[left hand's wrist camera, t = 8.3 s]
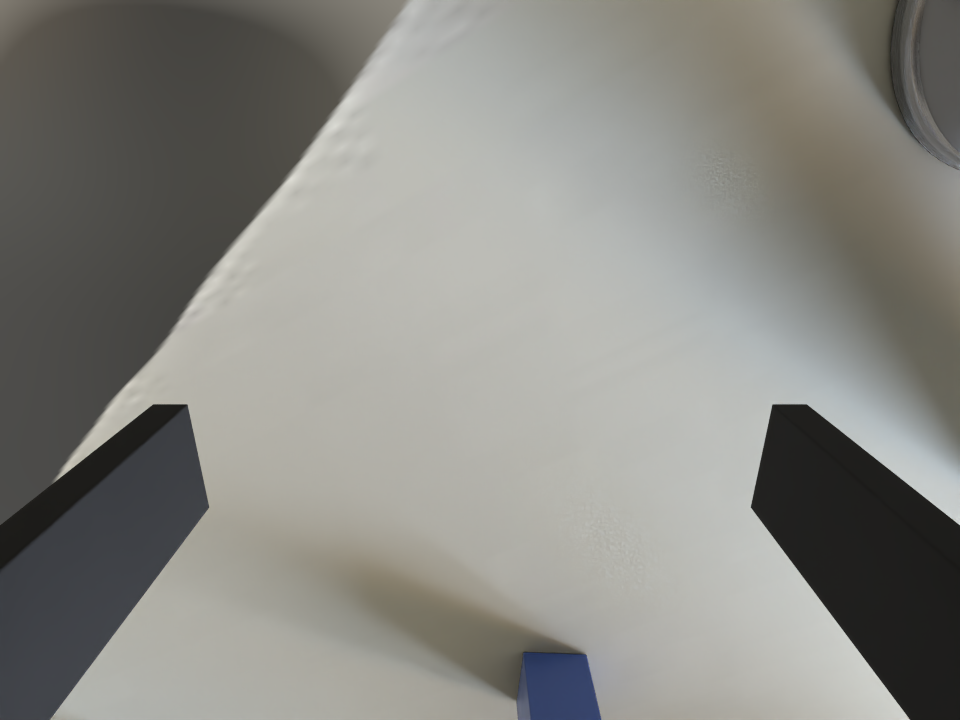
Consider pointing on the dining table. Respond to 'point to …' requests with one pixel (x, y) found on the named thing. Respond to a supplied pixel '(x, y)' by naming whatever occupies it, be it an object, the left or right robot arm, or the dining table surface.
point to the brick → (556, 688)
